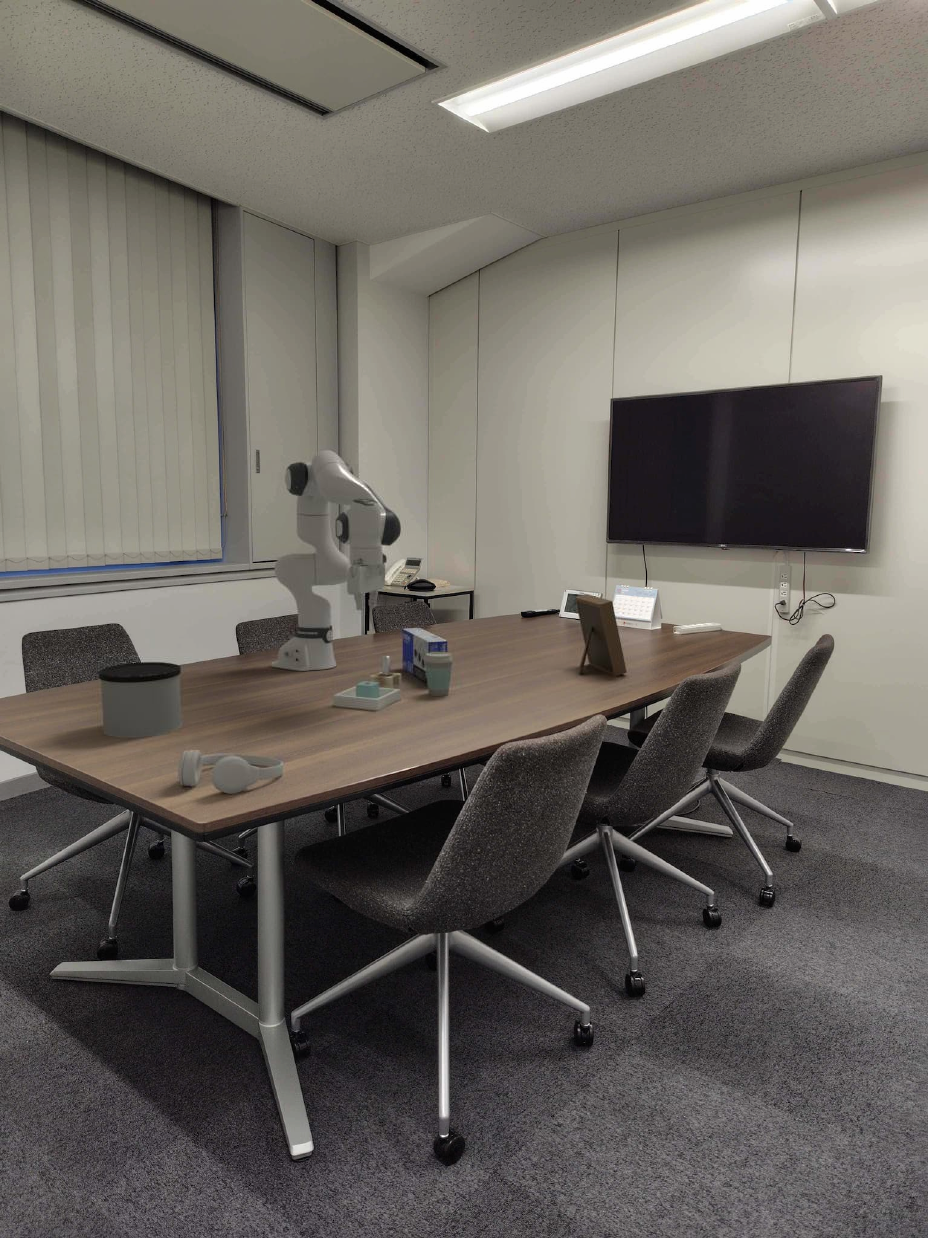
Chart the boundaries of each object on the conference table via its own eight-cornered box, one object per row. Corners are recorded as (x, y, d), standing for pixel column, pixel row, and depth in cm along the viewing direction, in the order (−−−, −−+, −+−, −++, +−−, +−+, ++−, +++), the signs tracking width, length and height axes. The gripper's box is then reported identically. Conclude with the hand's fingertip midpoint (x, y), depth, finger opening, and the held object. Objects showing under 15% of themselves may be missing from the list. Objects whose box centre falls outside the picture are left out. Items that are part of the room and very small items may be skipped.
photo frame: (600, 663, 294) (601, 593, 291) (626, 675, 274) (628, 600, 270) (560, 665, 291) (561, 594, 287) (584, 678, 270) (585, 602, 266)
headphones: (237, 761, 156) (299, 750, 174) (162, 749, 164) (230, 739, 182) (234, 799, 156) (297, 784, 174) (160, 785, 163) (227, 772, 182)
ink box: (448, 685, 258) (448, 640, 256) (427, 687, 256) (427, 641, 254) (420, 667, 286) (420, 627, 285) (402, 669, 284) (402, 627, 282)
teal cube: (355, 702, 233) (355, 684, 232) (363, 698, 238) (362, 681, 237) (372, 703, 232) (372, 685, 231) (379, 699, 236) (379, 682, 236)
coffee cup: (457, 692, 249) (457, 652, 247) (447, 698, 241) (447, 657, 239) (430, 689, 251) (430, 650, 250) (419, 695, 243) (419, 655, 242)
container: (97, 740, 196) (93, 678, 194) (107, 721, 214) (104, 663, 212) (181, 734, 201) (178, 674, 199) (184, 716, 219) (182, 660, 217)
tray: (333, 705, 231) (333, 695, 230) (357, 695, 244) (357, 685, 243) (378, 710, 226) (377, 699, 225) (400, 699, 238) (400, 689, 238)
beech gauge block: (369, 692, 247) (369, 676, 247) (380, 688, 254) (380, 671, 253) (390, 694, 245) (390, 678, 244) (401, 689, 251) (401, 673, 250)
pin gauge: (381, 690, 248) (382, 656, 247) (381, 688, 250) (382, 655, 249) (389, 690, 248) (390, 657, 247) (389, 688, 250) (390, 655, 249)
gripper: (363, 560, 218) (363, 612, 220) (388, 556, 238) (389, 604, 240) (340, 560, 220) (341, 612, 222) (368, 555, 240) (368, 603, 241)
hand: (366, 608), depth 231 cm, fingers open, 8 cm apart
